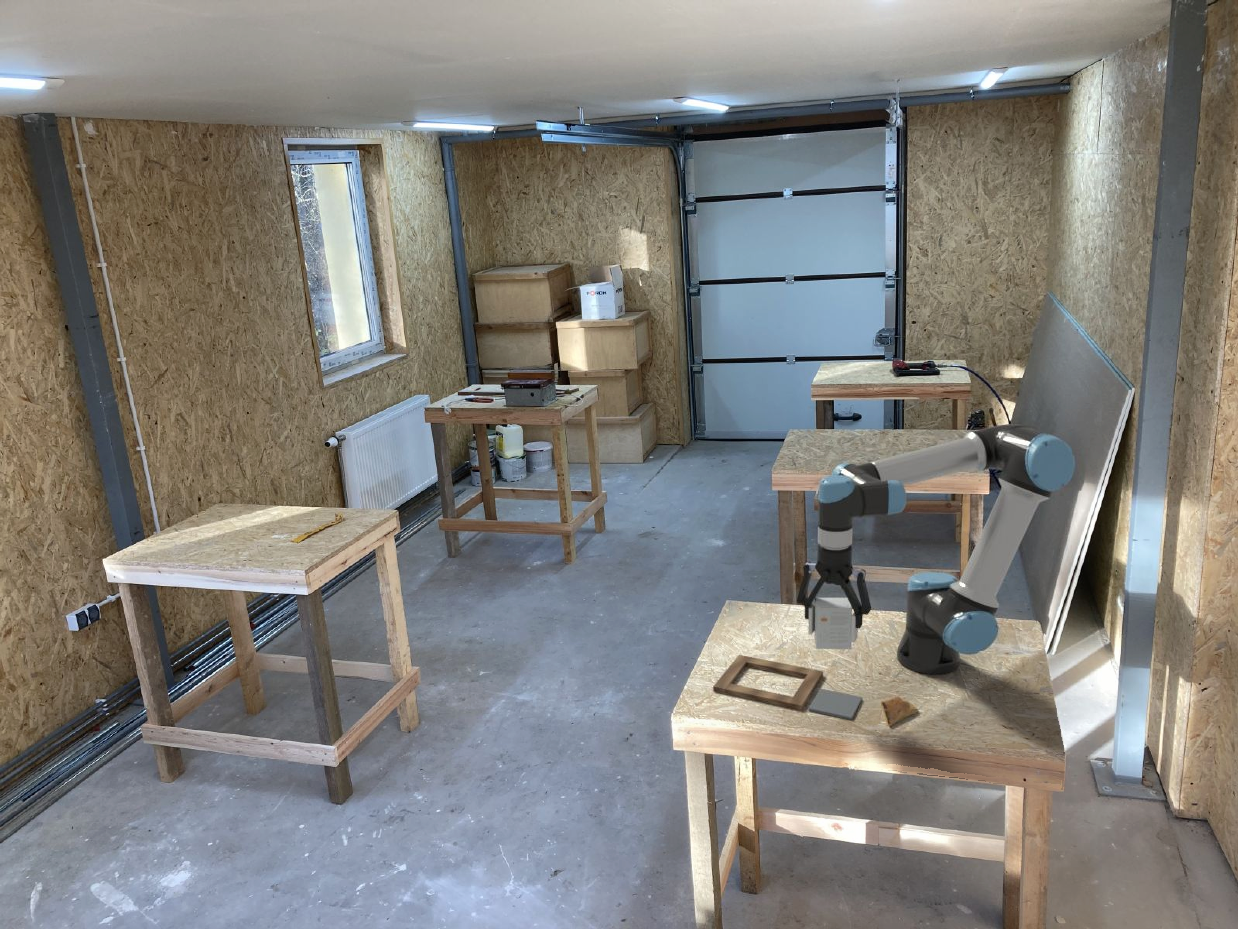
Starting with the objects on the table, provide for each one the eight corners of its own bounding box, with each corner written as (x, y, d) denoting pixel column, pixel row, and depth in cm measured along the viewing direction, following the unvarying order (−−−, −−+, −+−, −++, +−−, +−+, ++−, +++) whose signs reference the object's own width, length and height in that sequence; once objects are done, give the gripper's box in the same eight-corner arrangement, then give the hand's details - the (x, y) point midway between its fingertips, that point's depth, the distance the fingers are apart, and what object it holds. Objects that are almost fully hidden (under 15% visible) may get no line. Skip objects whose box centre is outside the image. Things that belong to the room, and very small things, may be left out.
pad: (862, 699, 223) (862, 697, 223) (851, 720, 214) (851, 717, 214) (820, 690, 227) (820, 688, 227) (808, 710, 219) (808, 708, 219)
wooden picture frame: (822, 675, 235) (822, 671, 234) (801, 710, 219) (801, 705, 219) (739, 659, 244) (739, 654, 244) (713, 690, 229) (713, 686, 229)
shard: (888, 730, 211) (888, 723, 210) (861, 716, 217) (861, 709, 217) (919, 714, 217) (919, 707, 216) (892, 701, 223) (892, 694, 222)
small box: (848, 639, 220) (850, 597, 217) (851, 650, 215) (852, 607, 212) (813, 638, 221) (814, 596, 218) (815, 649, 216) (816, 607, 213)
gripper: (888, 545, 209) (884, 637, 215) (793, 532, 219) (792, 621, 226) (880, 557, 203) (876, 651, 209) (782, 543, 213) (781, 634, 219)
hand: (832, 635), depth 217 cm, fingers closed on small box, 9 cm apart
